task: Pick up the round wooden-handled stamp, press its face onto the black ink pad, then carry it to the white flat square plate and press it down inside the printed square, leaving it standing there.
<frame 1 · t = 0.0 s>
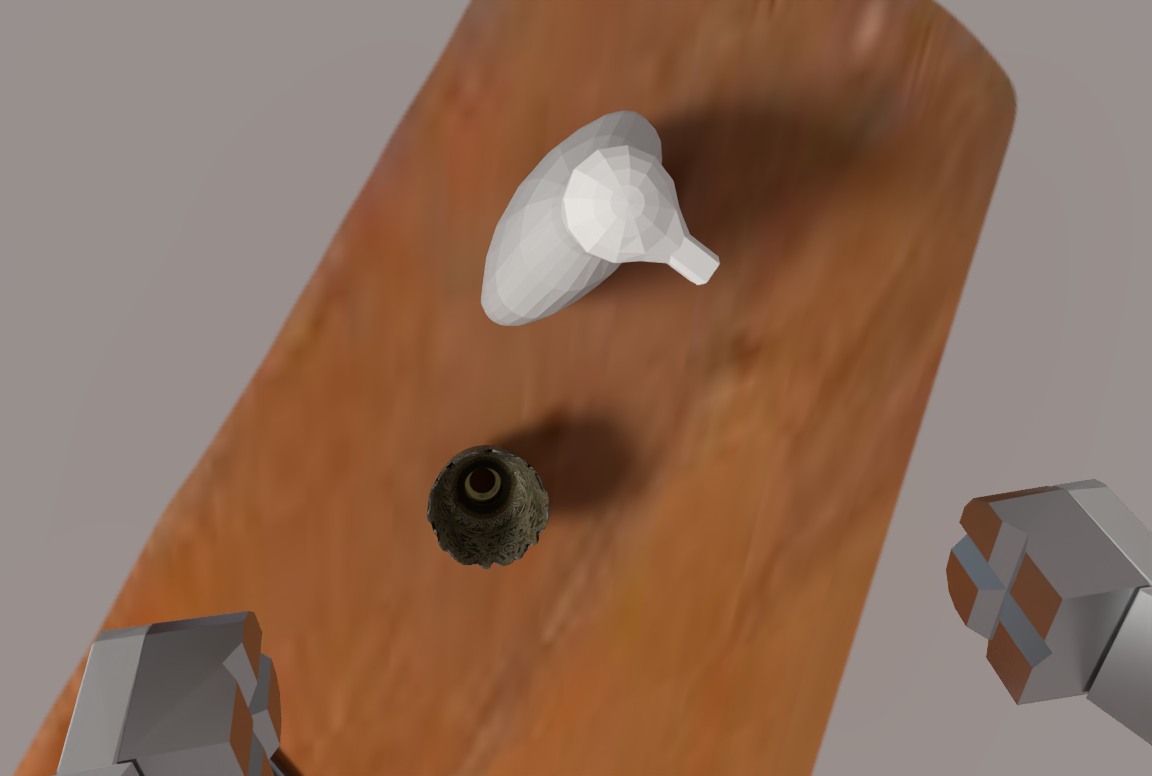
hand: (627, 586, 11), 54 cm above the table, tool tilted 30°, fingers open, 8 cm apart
soap bottle: (555, 232, 64), on the table
cup: (482, 480, 66), on the table
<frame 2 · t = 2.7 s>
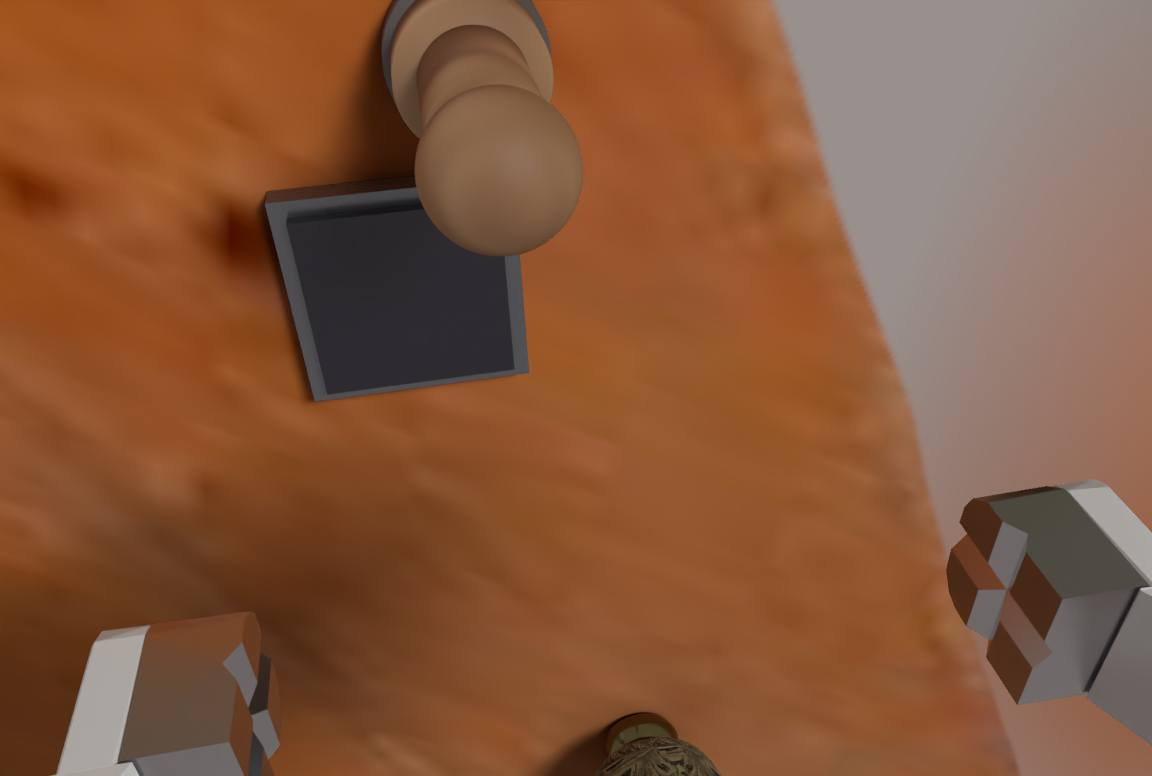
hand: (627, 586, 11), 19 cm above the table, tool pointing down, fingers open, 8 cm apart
ink pad: (407, 282, 30), on the table
stamp: (463, 47, 26), on the table
cup: (635, 726, 47), on the table
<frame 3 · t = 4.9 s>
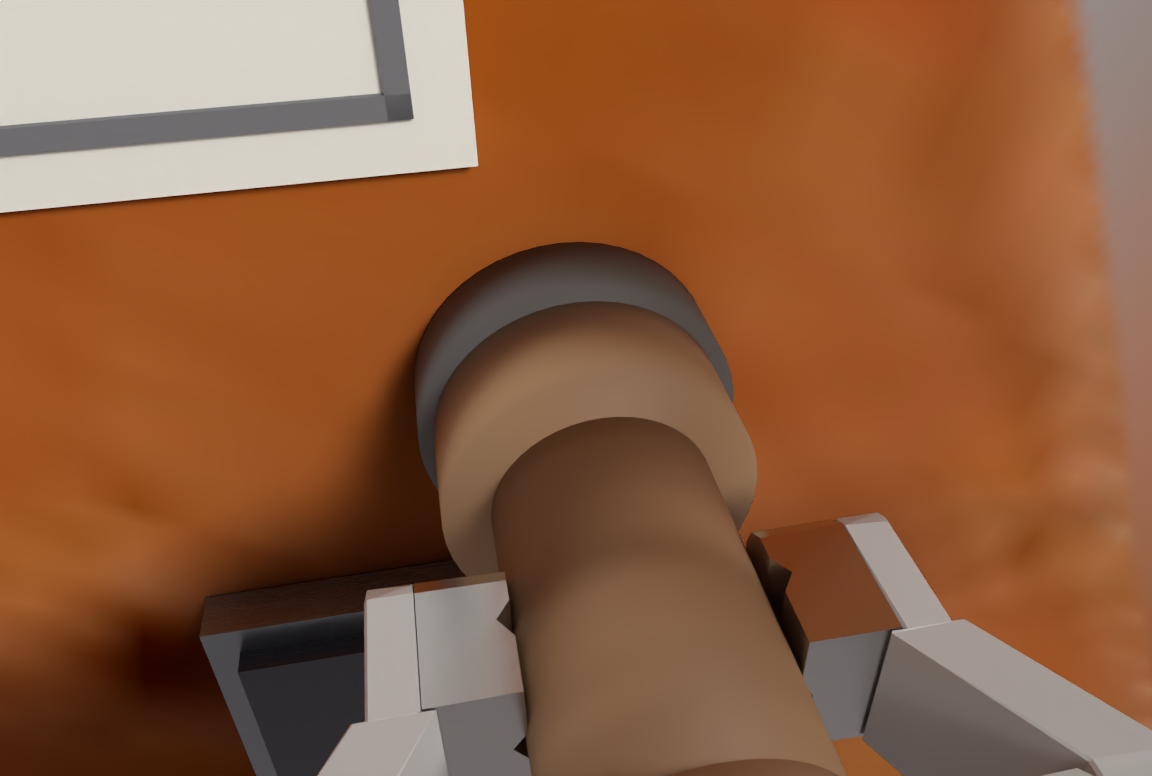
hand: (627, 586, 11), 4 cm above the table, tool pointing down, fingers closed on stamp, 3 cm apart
ink pad: (445, 691, 18), on the table
stamp: (564, 375, 14), on the table, touching gripper
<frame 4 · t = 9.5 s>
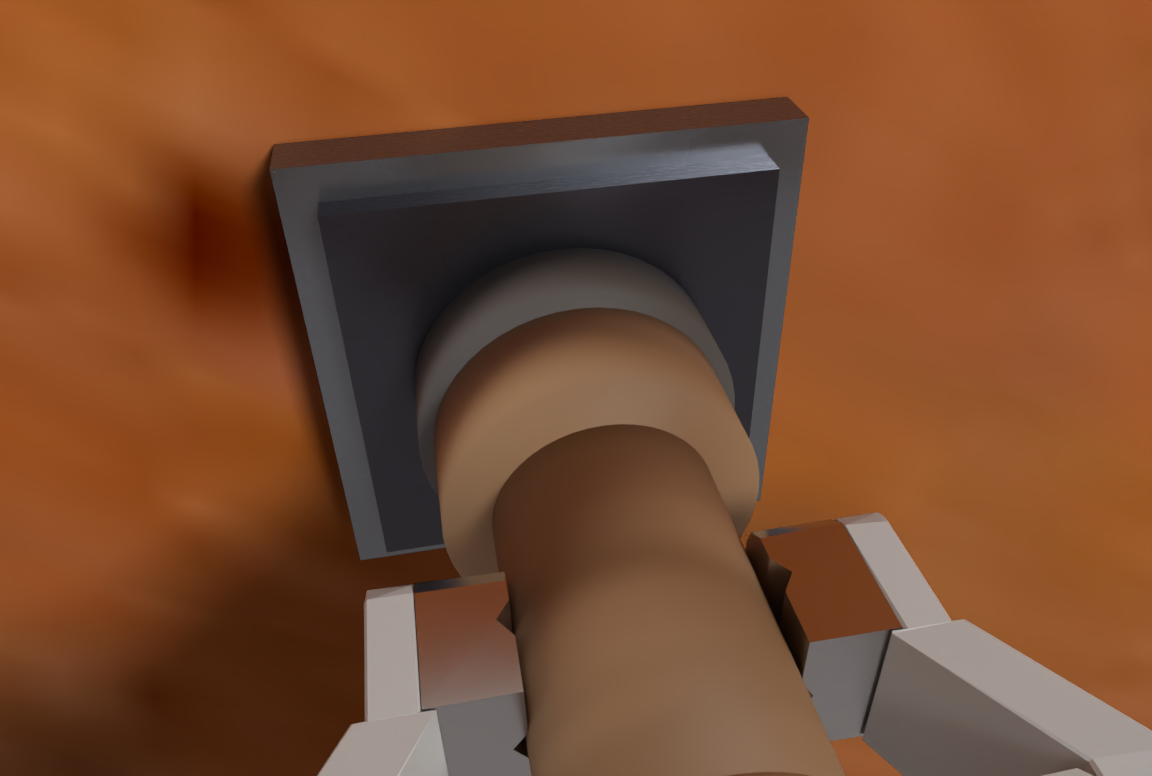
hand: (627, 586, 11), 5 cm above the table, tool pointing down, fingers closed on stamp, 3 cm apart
ink pad: (550, 335, 15), on the table
stamp: (565, 381, 14), point 1 cm above the table, touching gripper, ink pad
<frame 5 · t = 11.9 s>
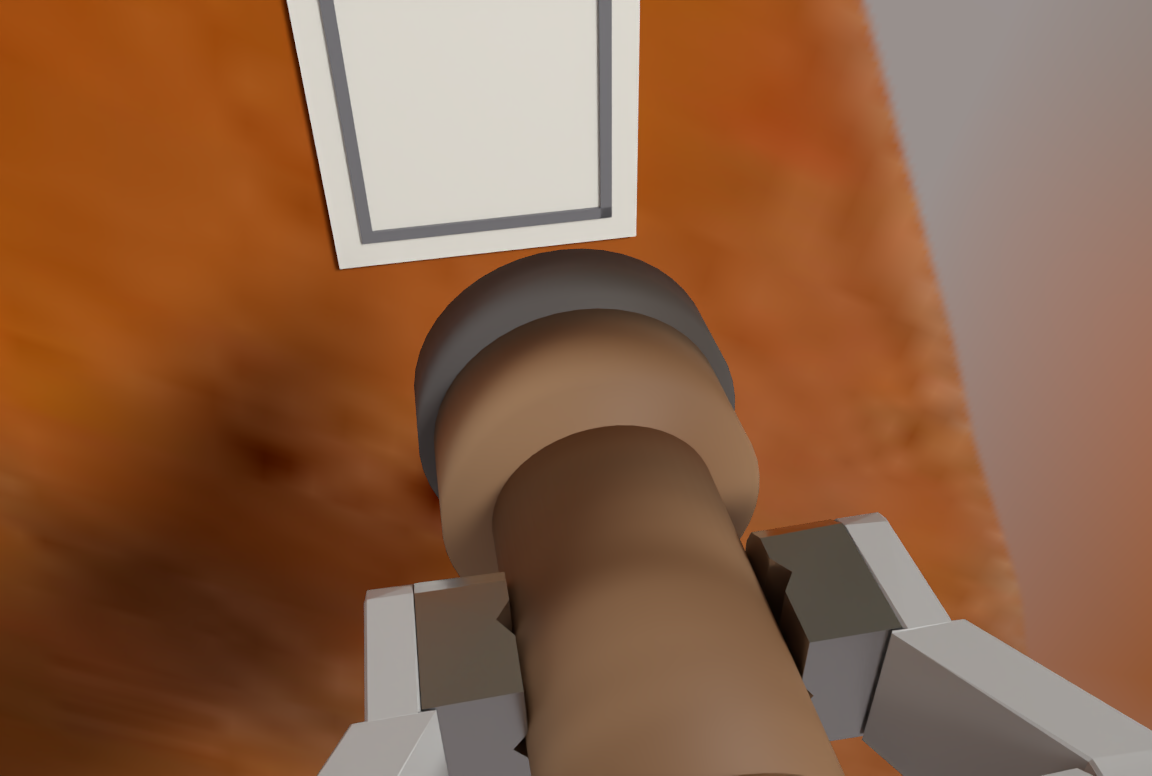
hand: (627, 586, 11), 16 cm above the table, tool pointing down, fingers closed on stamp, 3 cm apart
white flat square plate: (477, 103, 23), on the table
stamp: (565, 382, 14), point 12 cm above the table, touching gripper
when the fingers open (4 cm above the table, at t = 14.0 s): stamp stays where it is, resting on white flat square plate.
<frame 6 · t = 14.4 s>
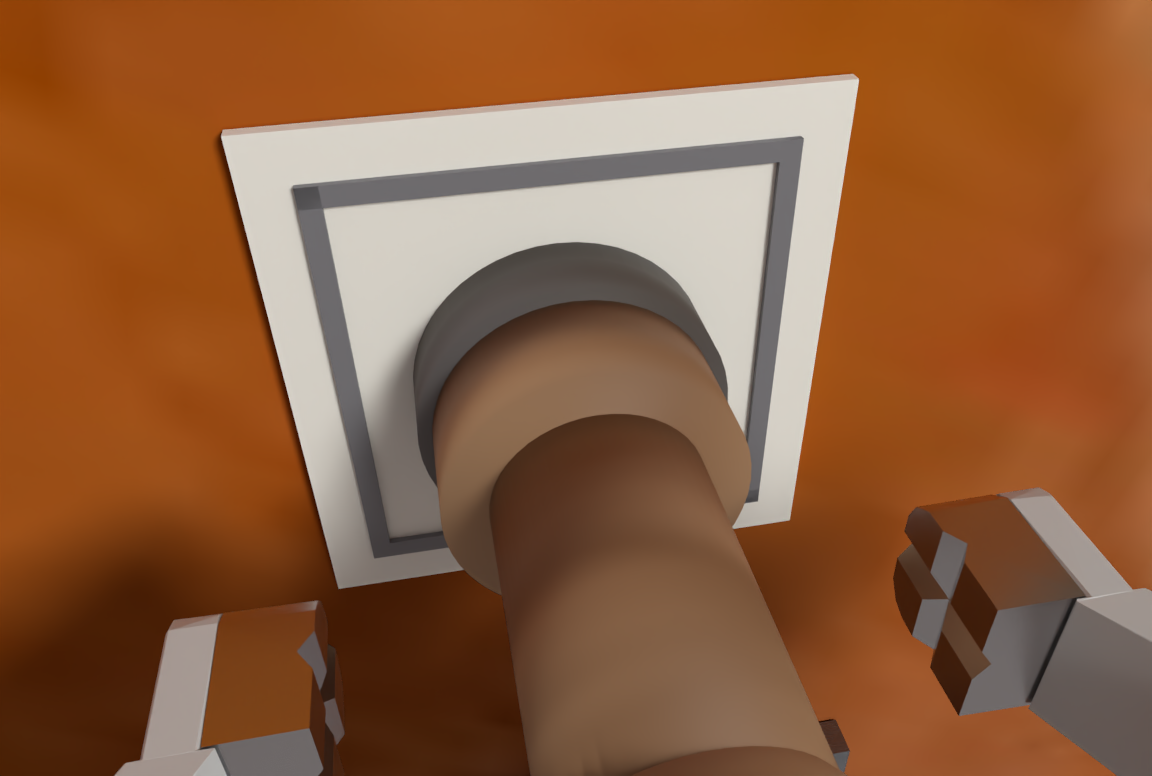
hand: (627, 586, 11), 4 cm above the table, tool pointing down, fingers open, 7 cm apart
white flat square plate: (561, 360, 14), on the table
stamp: (561, 373, 14), resting on white flat square plate
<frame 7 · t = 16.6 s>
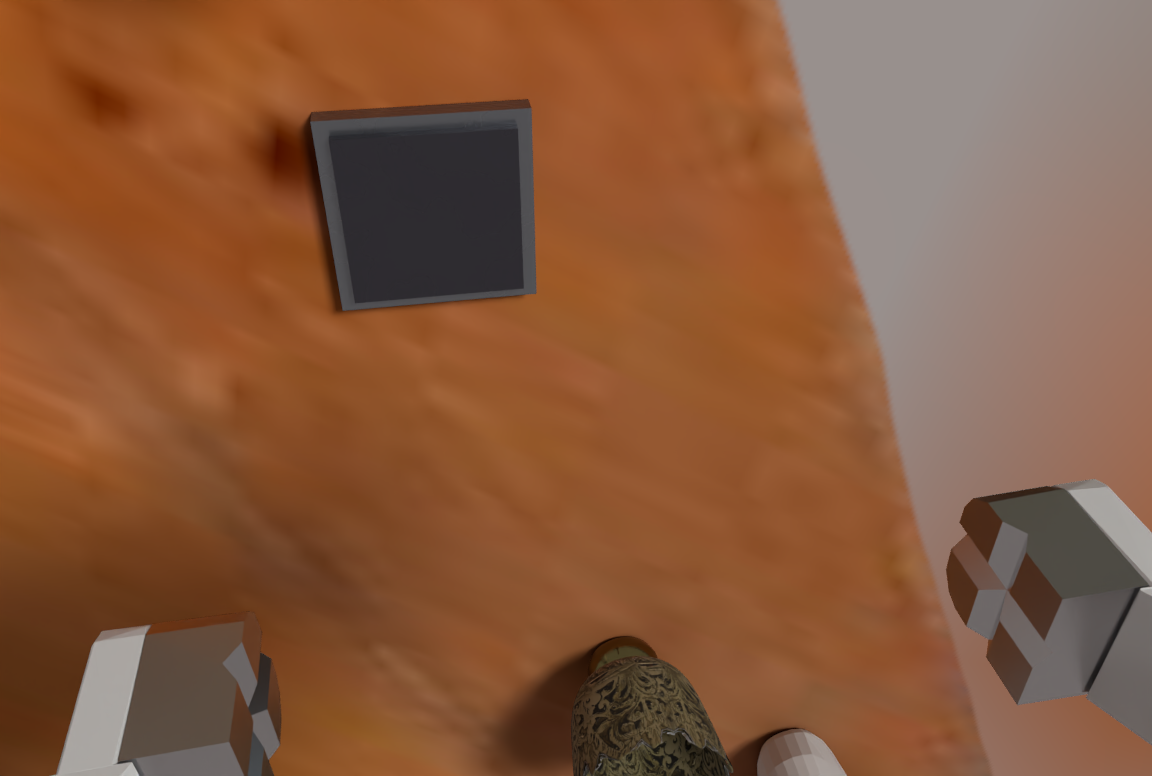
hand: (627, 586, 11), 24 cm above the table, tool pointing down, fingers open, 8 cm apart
soap bottle: (782, 766, 60), on the table
ink pad: (431, 204, 33), on the table
cup: (618, 650, 50), on the table
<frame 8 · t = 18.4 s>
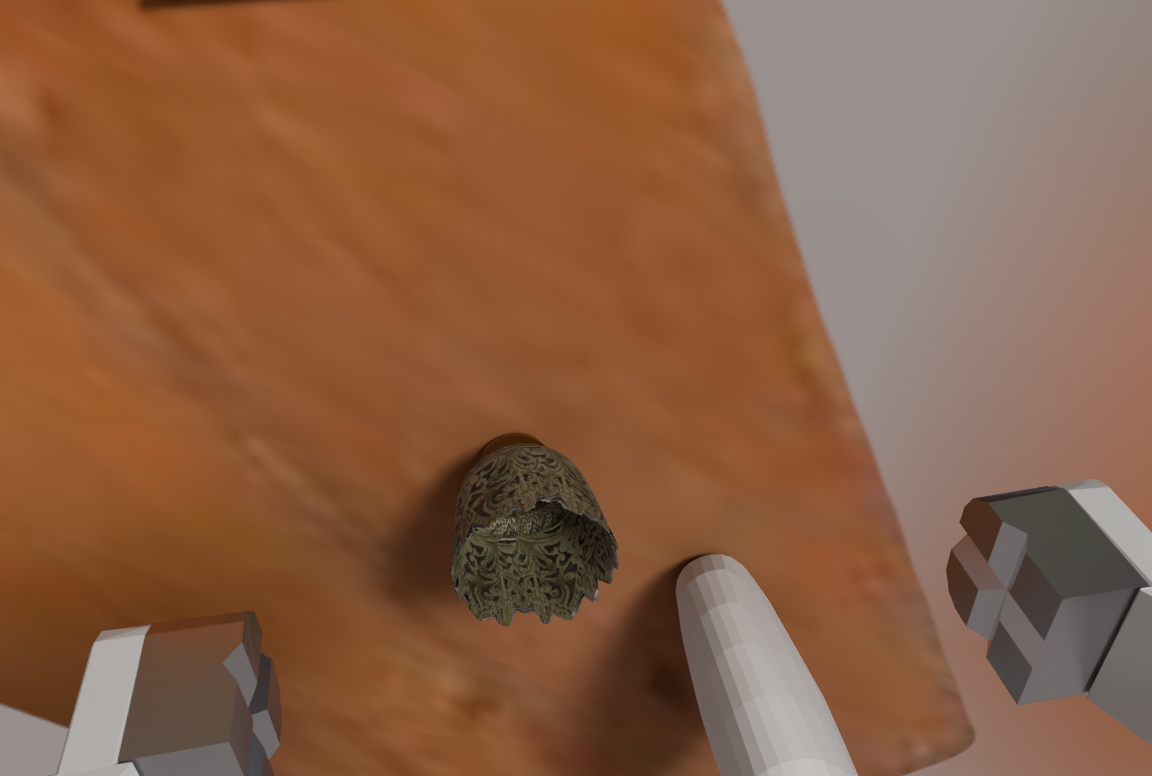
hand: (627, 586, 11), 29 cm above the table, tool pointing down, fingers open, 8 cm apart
soap bottle: (706, 602, 58), on the table
cup: (512, 452, 48), on the table
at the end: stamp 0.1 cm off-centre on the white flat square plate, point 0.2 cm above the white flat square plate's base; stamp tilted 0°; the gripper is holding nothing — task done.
